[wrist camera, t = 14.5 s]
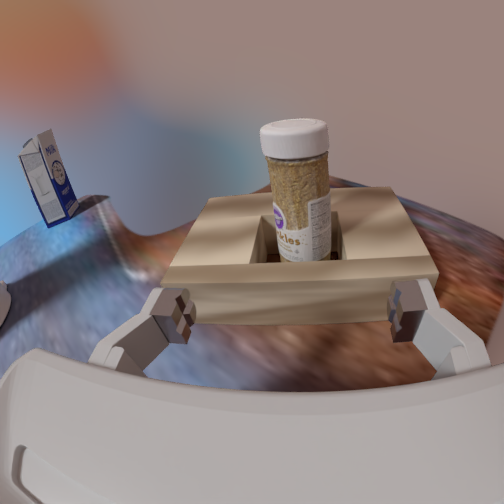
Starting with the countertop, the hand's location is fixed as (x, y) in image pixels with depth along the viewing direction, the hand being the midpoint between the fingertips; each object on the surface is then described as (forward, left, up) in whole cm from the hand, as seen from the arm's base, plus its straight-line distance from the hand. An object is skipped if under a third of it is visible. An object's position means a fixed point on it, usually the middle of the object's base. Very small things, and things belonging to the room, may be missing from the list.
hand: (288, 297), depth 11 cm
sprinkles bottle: (+4, +10, -9) cm, 15 cm away
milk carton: (-37, +47, -9) cm, 61 cm away
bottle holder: (+4, +12, -9) cm, 16 cm away
